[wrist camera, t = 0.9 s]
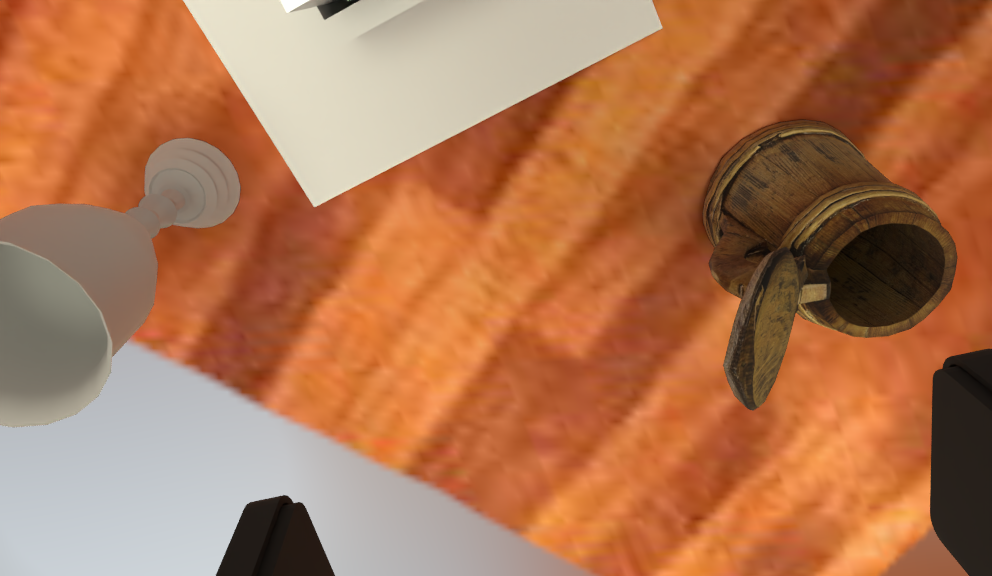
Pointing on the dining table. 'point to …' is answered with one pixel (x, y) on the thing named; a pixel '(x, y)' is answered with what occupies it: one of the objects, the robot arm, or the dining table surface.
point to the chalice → (93, 280)
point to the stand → (401, 70)
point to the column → (304, 4)
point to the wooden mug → (816, 247)
